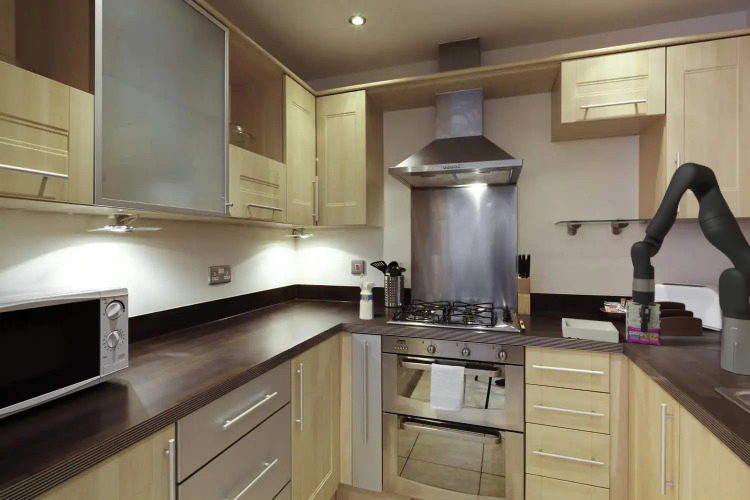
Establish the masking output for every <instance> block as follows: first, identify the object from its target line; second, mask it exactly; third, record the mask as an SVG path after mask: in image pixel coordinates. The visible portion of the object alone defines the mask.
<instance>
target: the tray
mask: <svg viewBox="0 0 750 500" xmlns="http://www.w3.org/2000/svg"><path fill="white" fill-rule="evenodd" d="M561 329H562V337H563V338H568V337H571V338H570V339H577V338H579V340H588V341H597V342H606V343H607V342H608V343H616V344H618V343H619V330H617V328H616V326H615V325H614V324H613V323H612V322H611V321H601V320H600V321H599V320H589V319H577V318H565V317H562V319H561Z"/></svg>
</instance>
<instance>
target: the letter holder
mask: <svg viewBox="0 0 750 500" xmlns="http://www.w3.org/2000/svg"><path fill="white" fill-rule="evenodd" d="M649 303H658V304H660V305H661V337H702V336H703V319H702V318H700V317H697V316H696V317H695V315H694V311H693V310H688V309H687V310H686V304H685V303H684V302H678V301H668V300H665V301H654V302H649Z"/></svg>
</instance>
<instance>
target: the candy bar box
mask: <svg viewBox="0 0 750 500" xmlns="http://www.w3.org/2000/svg"><path fill="white" fill-rule="evenodd" d="M648 306H649V308H648V309H651V314H650V323H648V332H647V333H644V332H641V322H640V321H641V318H640V317H639V311H641V303H639V302H637V301H626V302H625V312H626V313H625V340H626V341H627V343H634V344H643V345H653V346H661V337H662V336H661V305H660V304H658V303H648ZM641 315H642V313H641ZM644 319H646V320H647V318H645V317H644Z"/></svg>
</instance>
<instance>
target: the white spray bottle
mask: <svg viewBox="0 0 750 500" xmlns="http://www.w3.org/2000/svg"><path fill="white" fill-rule="evenodd" d="M359 276H360V279H361V278H362V279H364V276H365V274H364V273H363V272H361V273H359ZM359 283H360V284H359V288H360V300H359V319H361V320H373V319H374V318H375V317H374V314H375V313H374V300H373V295H374V293H373V288H375V287H376V283H375V282H374V281H360V282H359Z"/></svg>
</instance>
